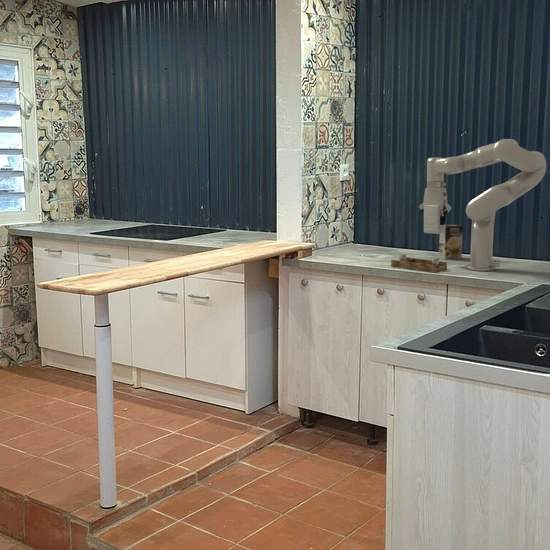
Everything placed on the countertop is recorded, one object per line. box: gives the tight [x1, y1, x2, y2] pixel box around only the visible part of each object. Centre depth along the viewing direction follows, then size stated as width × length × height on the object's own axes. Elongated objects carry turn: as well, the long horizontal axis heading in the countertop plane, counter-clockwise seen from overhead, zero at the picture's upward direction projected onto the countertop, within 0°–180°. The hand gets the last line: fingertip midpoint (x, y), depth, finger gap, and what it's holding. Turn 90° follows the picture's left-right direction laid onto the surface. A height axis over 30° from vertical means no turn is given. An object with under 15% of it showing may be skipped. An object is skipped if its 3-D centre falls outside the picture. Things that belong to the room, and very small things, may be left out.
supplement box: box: [423, 205, 446, 235], centre depth 357 cm, size 7×7×13 cm
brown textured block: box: [390, 253, 448, 273], centre depth 352 cm, size 22×11×5 cm, turn 48°
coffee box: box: [438, 224, 464, 260], centre depth 377 cm, size 9×6×16 cm
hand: (434, 224), depth 358 cm, fingers closed on supplement box, 7 cm apart
